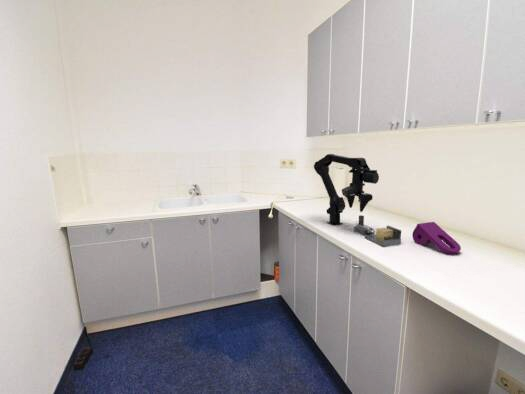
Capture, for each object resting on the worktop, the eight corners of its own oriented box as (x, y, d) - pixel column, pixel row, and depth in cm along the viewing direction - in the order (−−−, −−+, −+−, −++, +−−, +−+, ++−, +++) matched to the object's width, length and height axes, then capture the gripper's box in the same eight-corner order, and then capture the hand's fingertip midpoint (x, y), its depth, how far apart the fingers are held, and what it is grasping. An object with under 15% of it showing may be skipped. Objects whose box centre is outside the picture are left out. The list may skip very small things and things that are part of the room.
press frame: (350, 231, 144) (350, 220, 143) (368, 228, 147) (368, 218, 146) (382, 247, 121) (383, 234, 120) (403, 243, 125) (404, 231, 124)
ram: (356, 227, 145) (356, 215, 144) (360, 227, 146) (361, 214, 144) (371, 234, 134) (372, 221, 132) (375, 234, 134) (376, 220, 133)
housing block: (375, 238, 129) (376, 228, 128) (384, 237, 131) (384, 227, 130) (383, 242, 125) (384, 231, 124) (392, 240, 126) (392, 230, 125)
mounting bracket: (455, 263, 117) (425, 234, 131) (465, 250, 112) (433, 221, 126) (438, 266, 114) (409, 236, 128) (448, 253, 109) (417, 223, 123)
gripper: (334, 179, 149) (333, 207, 152) (355, 185, 132) (353, 215, 135) (352, 178, 152) (350, 205, 156) (374, 183, 135) (372, 213, 138)
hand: (355, 209), depth 146 cm, fingers open, 9 cm apart
